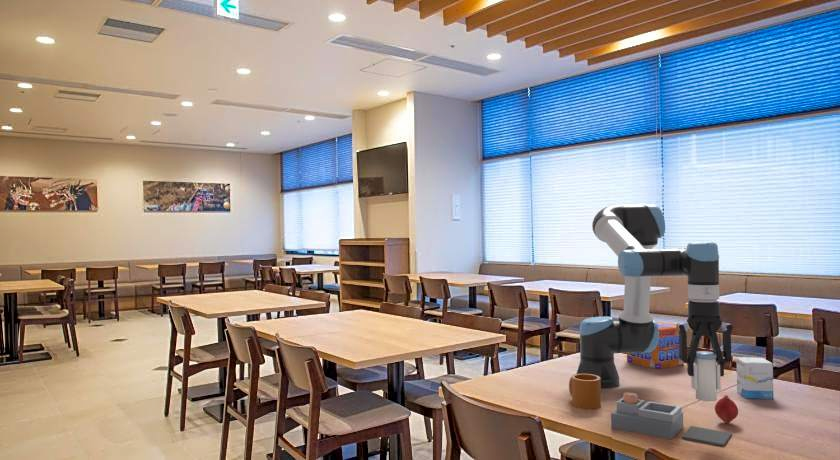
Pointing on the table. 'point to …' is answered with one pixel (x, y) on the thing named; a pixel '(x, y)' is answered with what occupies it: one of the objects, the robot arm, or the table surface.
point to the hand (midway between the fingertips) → (705, 388)
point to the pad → (707, 436)
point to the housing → (648, 418)
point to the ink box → (755, 378)
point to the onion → (726, 409)
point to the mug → (585, 391)
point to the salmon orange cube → (630, 398)
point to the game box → (661, 350)
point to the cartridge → (706, 376)
